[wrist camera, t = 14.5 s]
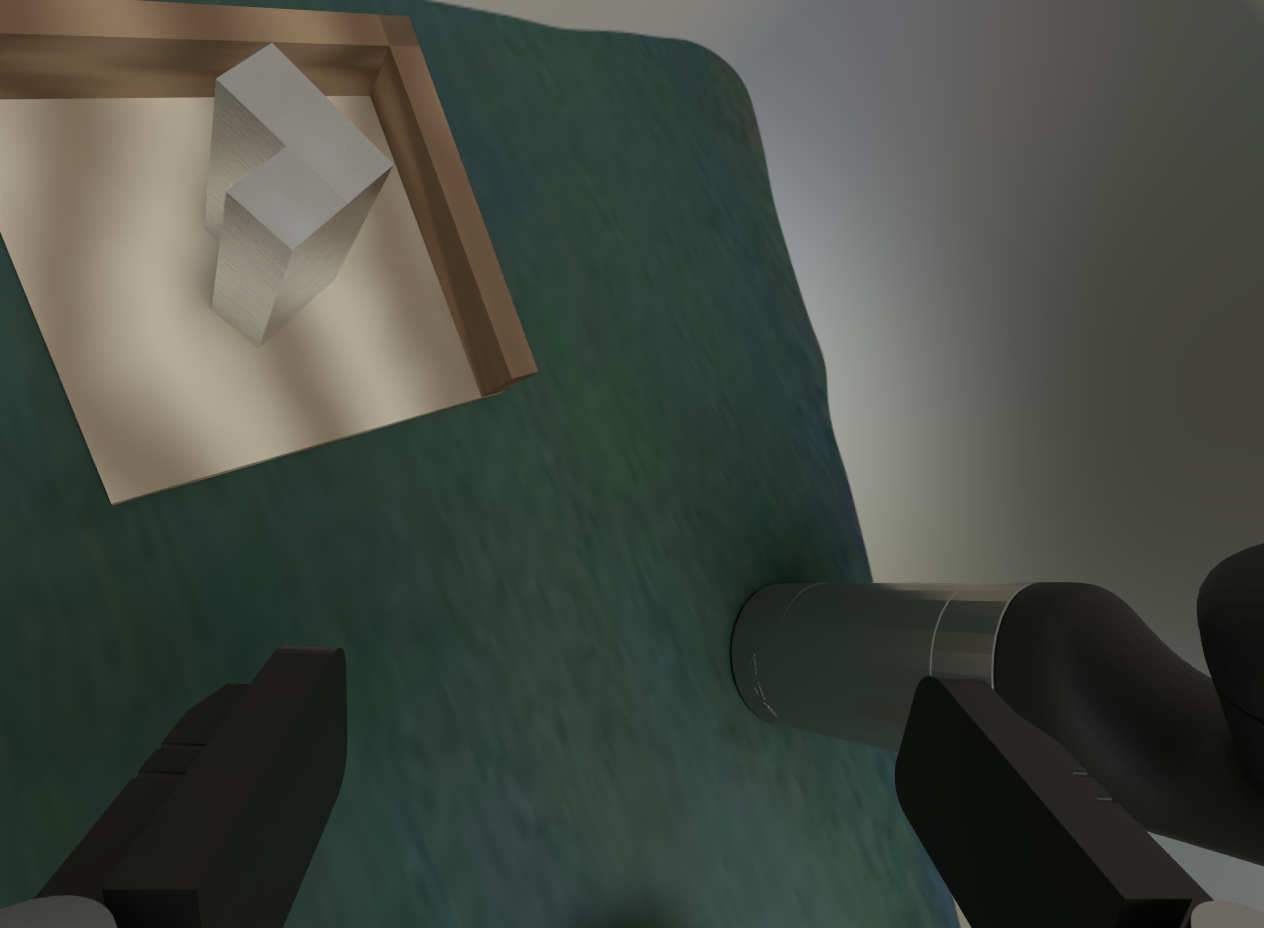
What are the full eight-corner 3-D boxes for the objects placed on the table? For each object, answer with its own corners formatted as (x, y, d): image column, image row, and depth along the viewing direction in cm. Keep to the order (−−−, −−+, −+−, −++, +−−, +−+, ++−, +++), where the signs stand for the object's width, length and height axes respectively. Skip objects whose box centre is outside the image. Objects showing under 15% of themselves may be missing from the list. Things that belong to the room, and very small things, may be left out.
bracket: (334, 279, 33) (393, 164, 24) (258, 348, 31) (292, 250, 22) (244, 198, 32) (272, 42, 22) (157, 265, 29) (148, 122, 20)
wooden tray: (383, 77, 37) (408, 16, 33) (500, 393, 38) (538, 371, 34) (-63, 74, 27) (-105, -14, 23) (112, 505, 28) (102, 492, 24)
